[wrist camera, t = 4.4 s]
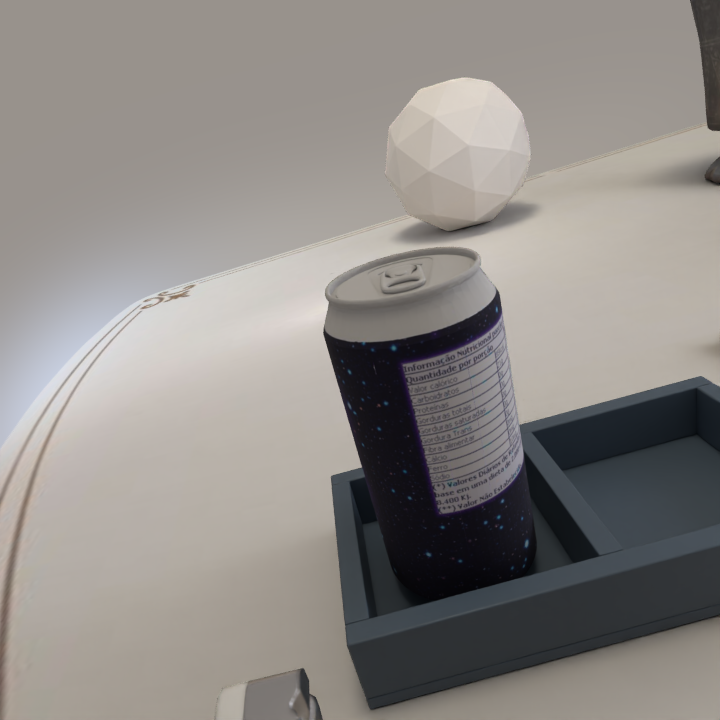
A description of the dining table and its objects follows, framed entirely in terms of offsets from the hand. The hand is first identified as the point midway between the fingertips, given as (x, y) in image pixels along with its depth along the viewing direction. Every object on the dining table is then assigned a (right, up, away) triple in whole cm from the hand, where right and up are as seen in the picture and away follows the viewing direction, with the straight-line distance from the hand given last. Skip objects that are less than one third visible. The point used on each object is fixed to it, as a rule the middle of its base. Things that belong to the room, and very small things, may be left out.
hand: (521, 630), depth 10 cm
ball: (+12, +24, +69) cm, 74 cm away
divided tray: (+5, -2, +12) cm, 13 cm away
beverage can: (+1, -3, +12) cm, 12 cm away
